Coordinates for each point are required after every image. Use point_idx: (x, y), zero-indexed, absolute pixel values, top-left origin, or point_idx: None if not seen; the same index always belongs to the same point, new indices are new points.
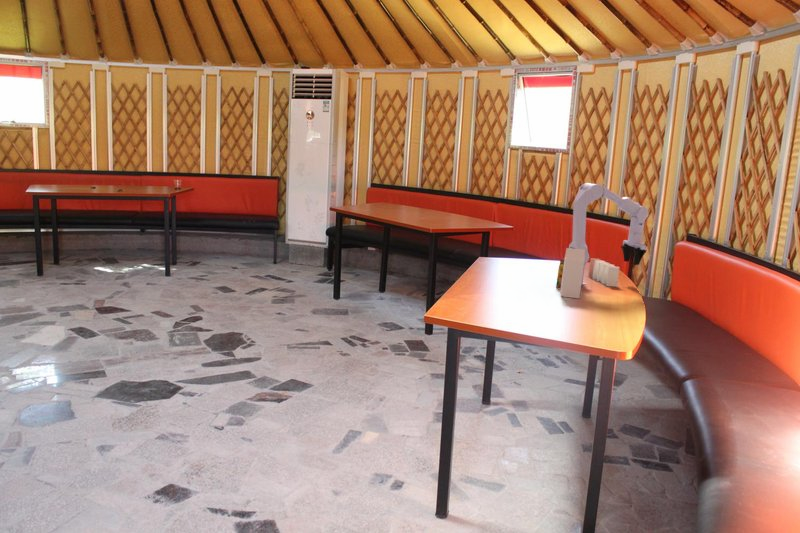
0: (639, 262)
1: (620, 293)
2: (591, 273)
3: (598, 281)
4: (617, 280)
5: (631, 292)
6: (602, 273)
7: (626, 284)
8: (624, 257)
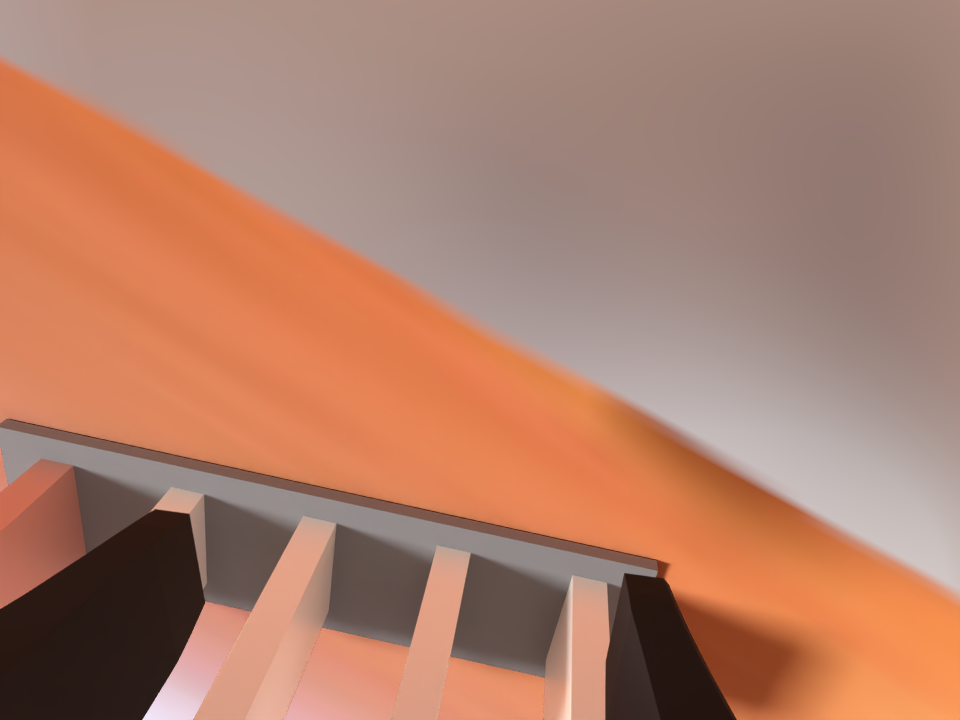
0: (688, 637)
1: (890, 715)
2: (54, 570)
3: (342, 613)
4: (608, 647)
5: (881, 570)
6: (294, 663)
7: (400, 295)
8: (139, 702)
